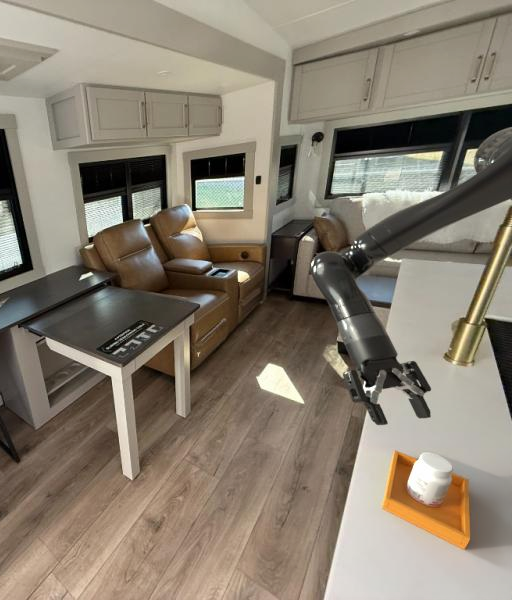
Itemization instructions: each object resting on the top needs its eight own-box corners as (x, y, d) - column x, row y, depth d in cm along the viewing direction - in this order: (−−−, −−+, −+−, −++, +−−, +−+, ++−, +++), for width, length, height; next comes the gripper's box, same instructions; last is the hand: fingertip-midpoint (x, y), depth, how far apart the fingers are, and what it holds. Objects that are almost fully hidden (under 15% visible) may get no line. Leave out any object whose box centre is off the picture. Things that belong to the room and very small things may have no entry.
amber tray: (463, 489, 58) (468, 479, 57) (464, 550, 50) (470, 539, 49) (391, 459, 65) (394, 449, 64) (381, 508, 57) (385, 497, 56)
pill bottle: (437, 489, 58) (452, 456, 55) (444, 512, 54) (460, 478, 51) (403, 478, 60) (415, 446, 57) (408, 500, 57) (420, 466, 54)
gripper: (344, 338, 61) (384, 427, 55) (413, 328, 62) (459, 414, 56) (321, 347, 68) (353, 427, 62) (382, 338, 69) (420, 416, 63)
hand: (403, 421), depth 59 cm, fingers open, 8 cm apart
